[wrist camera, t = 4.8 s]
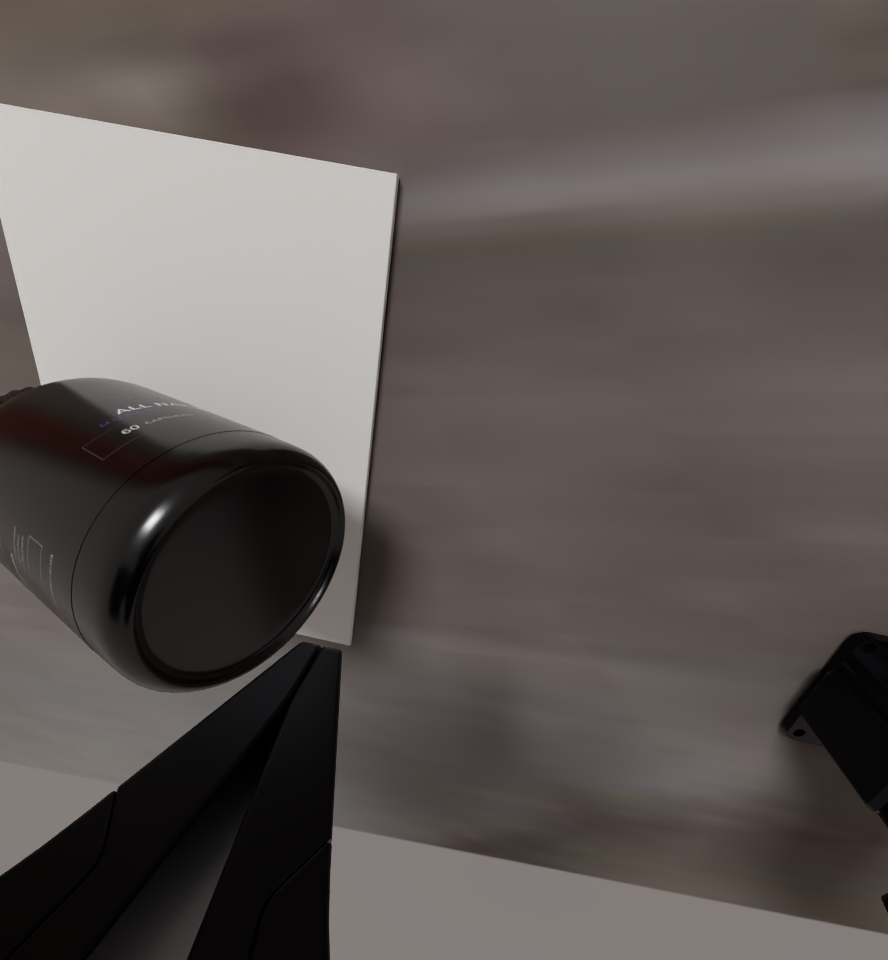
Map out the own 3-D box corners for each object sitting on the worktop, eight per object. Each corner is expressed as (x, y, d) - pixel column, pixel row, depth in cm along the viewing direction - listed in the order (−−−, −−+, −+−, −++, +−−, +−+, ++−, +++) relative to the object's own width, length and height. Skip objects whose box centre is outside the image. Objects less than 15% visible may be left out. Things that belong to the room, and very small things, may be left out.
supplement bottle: (269, 387, 9) (20, 309, 14) (18, 701, 7) (-177, 476, 12) (379, 514, 15) (178, 429, 20) (265, 706, 13) (68, 556, 17)
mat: (399, 176, 13) (397, 174, 13) (351, 641, 21) (350, 645, 21) (-19, 102, 14) (-29, 98, 13) (95, 583, 22) (90, 587, 22)
